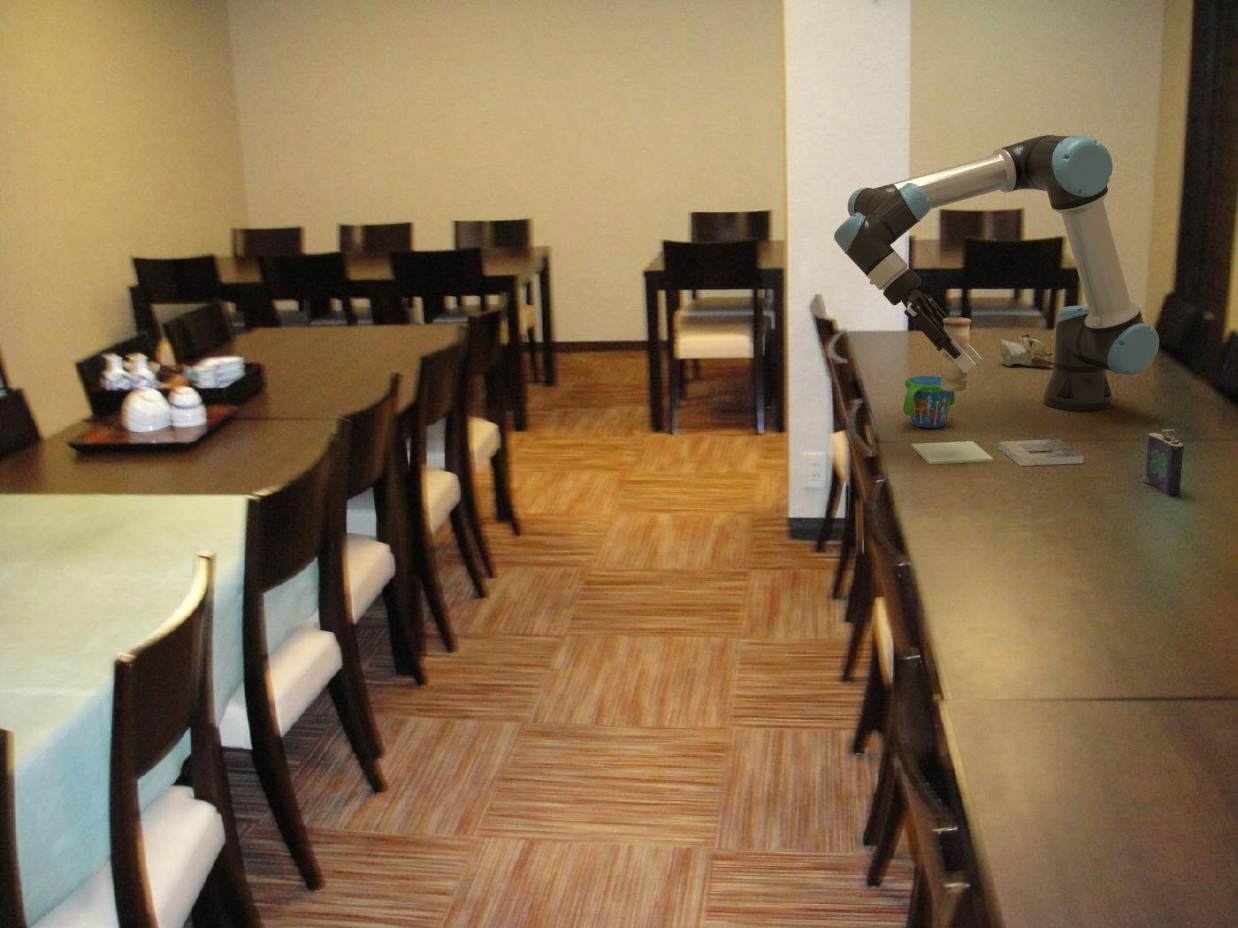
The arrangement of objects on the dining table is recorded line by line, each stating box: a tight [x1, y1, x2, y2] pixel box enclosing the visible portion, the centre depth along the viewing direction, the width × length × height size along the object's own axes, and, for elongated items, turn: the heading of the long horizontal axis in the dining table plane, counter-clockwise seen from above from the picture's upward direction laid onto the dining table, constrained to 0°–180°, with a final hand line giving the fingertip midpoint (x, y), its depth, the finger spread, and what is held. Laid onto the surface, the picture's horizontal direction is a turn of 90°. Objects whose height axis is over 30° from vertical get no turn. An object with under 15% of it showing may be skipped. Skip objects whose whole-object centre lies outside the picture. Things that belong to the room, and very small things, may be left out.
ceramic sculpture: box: [999, 334, 1054, 368], centre depth 339 cm, size 11×9×15 cm
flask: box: [1143, 428, 1185, 498], centre depth 236 cm, size 10×3×12 cm, turn 8°
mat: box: [911, 440, 994, 465], centre depth 263 cm, size 13×13×1 cm
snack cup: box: [902, 375, 956, 429], centre depth 284 cm, size 16×10×10 cm
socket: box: [998, 438, 1084, 467], centre depth 260 cm, size 13×13×2 cm
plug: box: [940, 316, 972, 392], centre depth 257 cm, size 5×5×14 cm
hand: (973, 365), depth 256 cm, fingers closed on plug, 5 cm apart
